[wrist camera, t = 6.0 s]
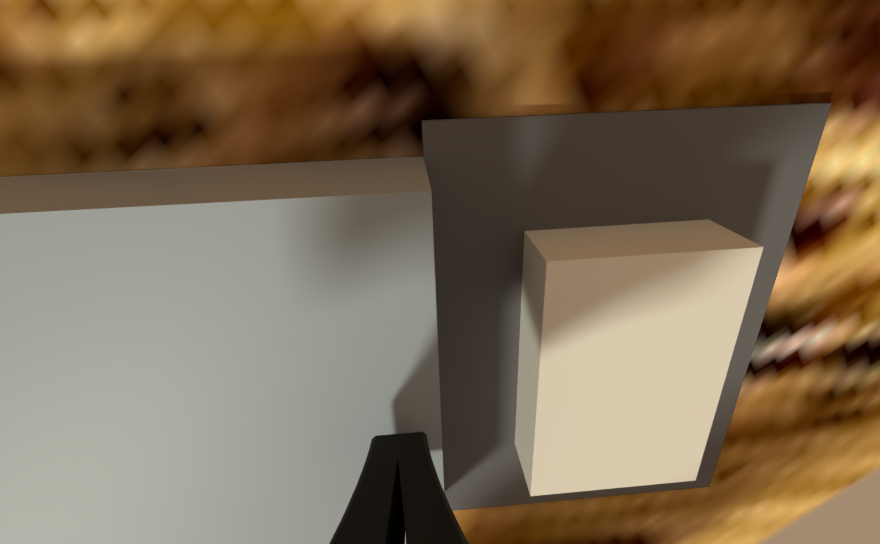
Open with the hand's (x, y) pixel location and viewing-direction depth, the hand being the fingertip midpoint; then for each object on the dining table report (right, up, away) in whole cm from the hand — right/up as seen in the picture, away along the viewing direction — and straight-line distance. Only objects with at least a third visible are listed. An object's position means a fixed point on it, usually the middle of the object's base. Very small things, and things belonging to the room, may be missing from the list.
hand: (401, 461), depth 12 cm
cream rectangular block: (+7, +1, +2) cm, 7 cm away
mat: (+7, +2, +5) cm, 9 cm away
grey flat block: (-7, +2, +4) cm, 8 cm away
